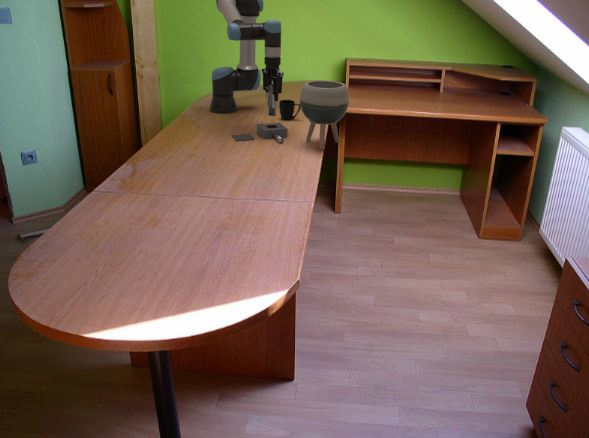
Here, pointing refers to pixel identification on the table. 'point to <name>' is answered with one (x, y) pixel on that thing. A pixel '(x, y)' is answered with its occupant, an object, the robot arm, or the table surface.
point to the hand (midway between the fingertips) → (272, 106)
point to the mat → (242, 137)
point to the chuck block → (272, 131)
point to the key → (271, 110)
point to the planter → (324, 106)
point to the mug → (287, 109)
